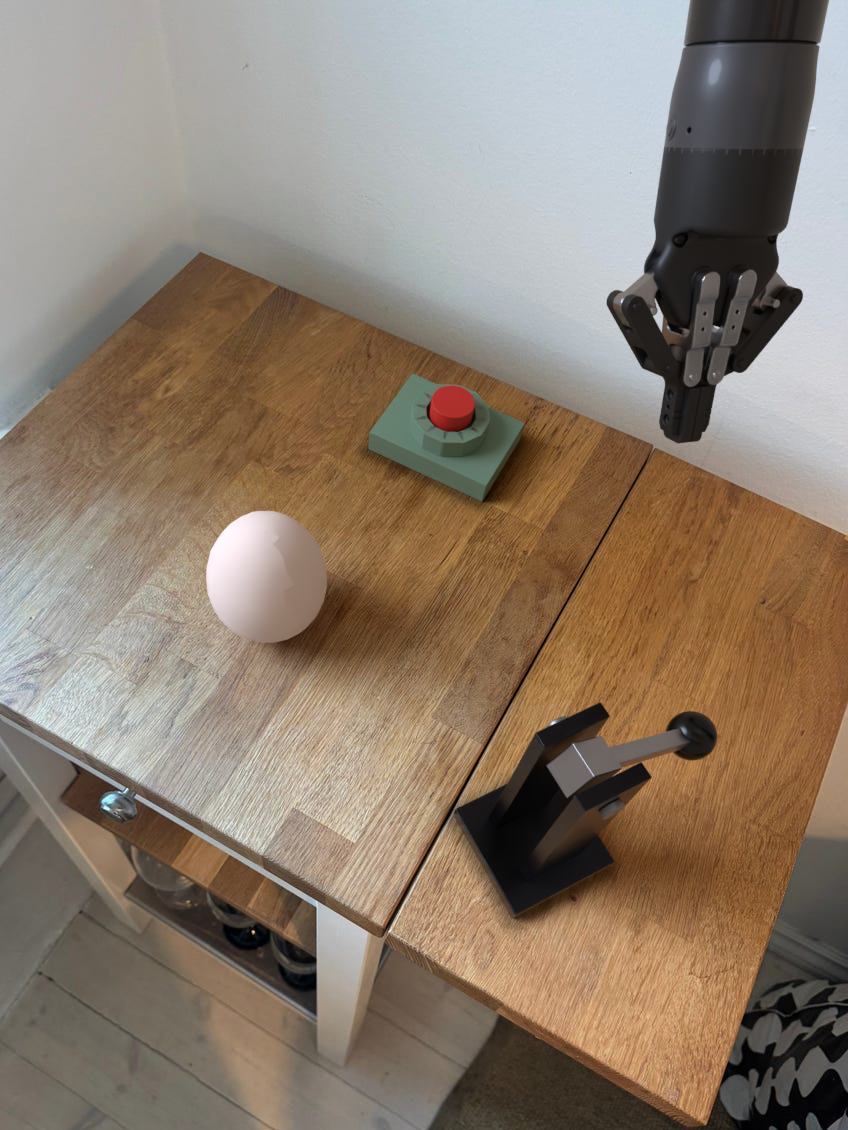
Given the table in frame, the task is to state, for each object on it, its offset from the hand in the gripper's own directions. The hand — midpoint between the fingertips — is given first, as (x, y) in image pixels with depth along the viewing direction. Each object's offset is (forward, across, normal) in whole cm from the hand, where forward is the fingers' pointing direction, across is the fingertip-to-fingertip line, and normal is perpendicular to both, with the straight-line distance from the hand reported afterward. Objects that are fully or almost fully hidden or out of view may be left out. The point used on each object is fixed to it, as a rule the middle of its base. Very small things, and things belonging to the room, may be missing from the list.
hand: (681, 438), depth 61 cm
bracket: (+25, -12, -8) cm, 29 cm away
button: (+4, -8, +21) cm, 22 cm away
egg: (+15, -26, +12) cm, 32 cm away
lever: (+16, -9, -12) cm, 22 cm away
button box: (+7, -8, +22) cm, 25 cm away
